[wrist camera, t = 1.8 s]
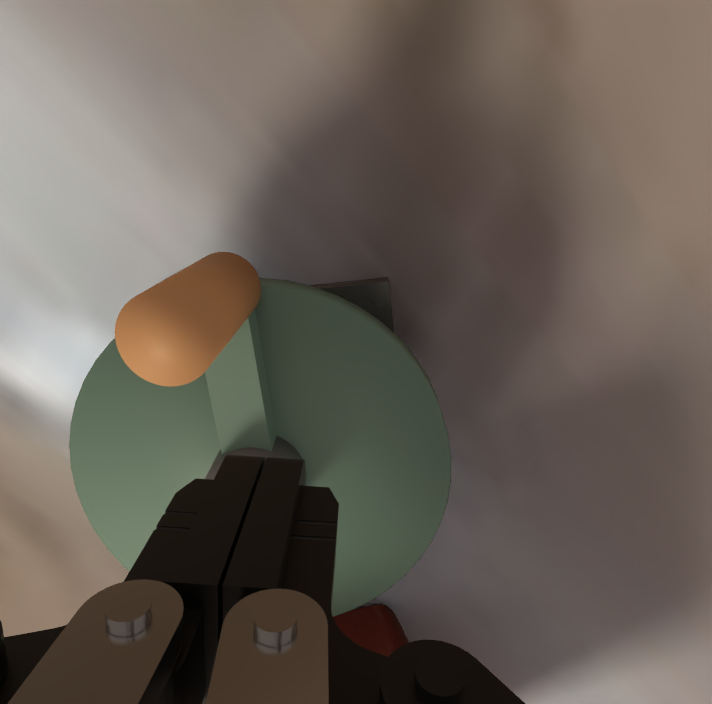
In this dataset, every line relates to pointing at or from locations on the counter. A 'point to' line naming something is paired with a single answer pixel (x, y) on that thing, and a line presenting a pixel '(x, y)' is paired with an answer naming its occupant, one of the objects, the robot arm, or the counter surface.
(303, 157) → the counter surface
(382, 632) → the plant pot
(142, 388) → the handwheel
